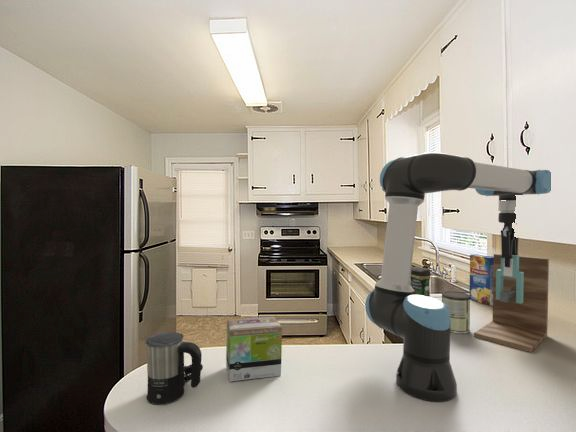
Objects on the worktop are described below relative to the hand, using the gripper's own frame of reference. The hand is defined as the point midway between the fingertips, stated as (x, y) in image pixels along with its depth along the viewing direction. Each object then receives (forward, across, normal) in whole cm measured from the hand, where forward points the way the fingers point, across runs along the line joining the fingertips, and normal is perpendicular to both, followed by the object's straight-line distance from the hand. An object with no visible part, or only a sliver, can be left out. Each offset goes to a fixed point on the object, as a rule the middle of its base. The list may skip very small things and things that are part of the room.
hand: (509, 275), depth 123 cm
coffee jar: (+24, +18, +44) cm, 53 cm away
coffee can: (+24, -5, +17) cm, 30 cm away
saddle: (+10, 0, 0) cm, 10 cm away
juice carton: (+24, +48, +24) cm, 59 cm away
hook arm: (+9, +3, 0) cm, 9 cm away
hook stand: (+24, +3, 0) cm, 24 cm away
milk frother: (+24, -108, +48) cm, 120 cm away
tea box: (+24, -87, +41) cm, 99 cm away
